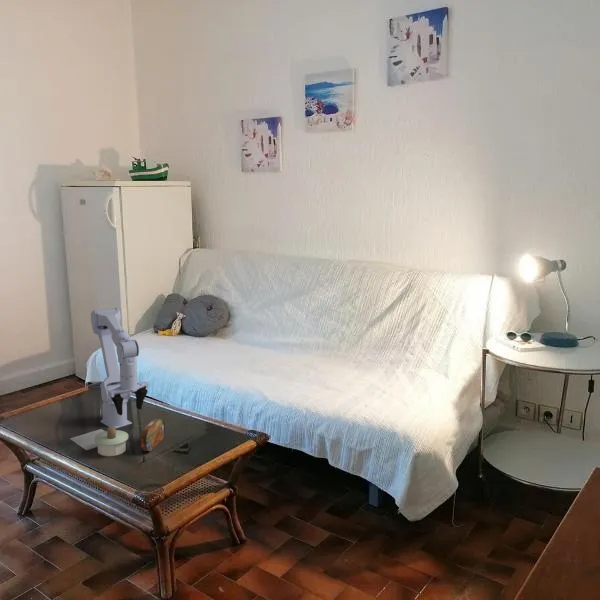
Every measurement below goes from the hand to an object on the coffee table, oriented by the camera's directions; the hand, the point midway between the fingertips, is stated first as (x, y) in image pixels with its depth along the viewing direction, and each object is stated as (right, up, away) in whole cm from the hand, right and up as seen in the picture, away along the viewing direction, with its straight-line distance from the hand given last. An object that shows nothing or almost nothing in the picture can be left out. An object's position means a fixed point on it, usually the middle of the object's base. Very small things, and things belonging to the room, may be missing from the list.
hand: (129, 411), depth 209 cm
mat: (-13, -10, 0) cm, 16 cm away
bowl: (-4, -12, -7) cm, 15 cm away
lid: (-4, -8, -8) cm, 12 cm away
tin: (+9, -12, -2) cm, 15 cm away
